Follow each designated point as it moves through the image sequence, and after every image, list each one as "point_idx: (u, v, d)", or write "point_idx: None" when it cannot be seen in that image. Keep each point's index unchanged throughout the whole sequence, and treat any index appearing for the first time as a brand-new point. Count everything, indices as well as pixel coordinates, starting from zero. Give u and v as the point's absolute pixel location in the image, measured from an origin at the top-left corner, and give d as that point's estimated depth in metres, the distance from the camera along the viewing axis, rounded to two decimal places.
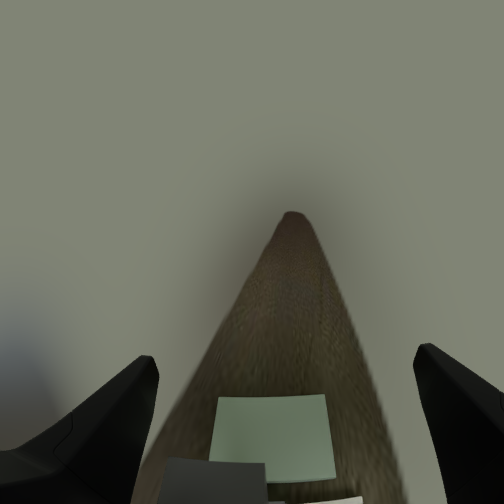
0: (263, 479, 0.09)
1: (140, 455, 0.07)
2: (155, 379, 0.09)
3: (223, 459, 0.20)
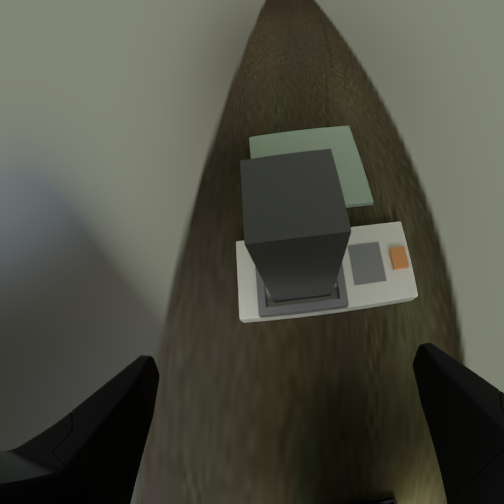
0: (334, 163, 0.12)
1: (140, 455, 0.07)
2: (155, 379, 0.09)
3: None
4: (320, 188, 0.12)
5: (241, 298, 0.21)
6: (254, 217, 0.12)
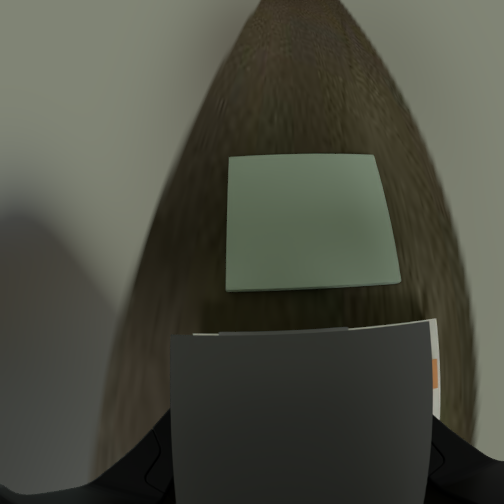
0: (430, 371, 0.04)
1: None
2: None
3: (247, 254, 0.17)
4: (384, 452, 0.03)
5: None
6: None
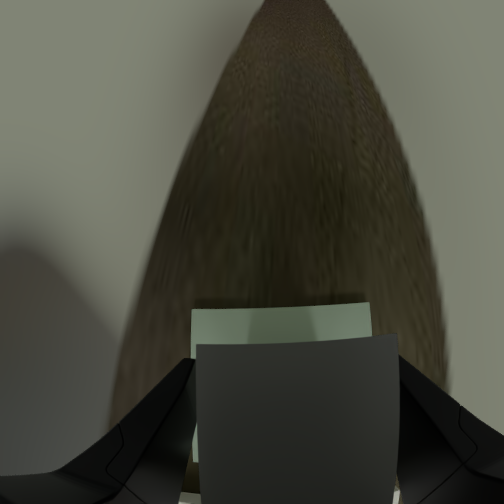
0: (397, 372, 0.05)
1: (186, 462, 0.07)
2: None
3: None
4: (360, 434, 0.05)
5: None
6: (222, 482, 0.05)
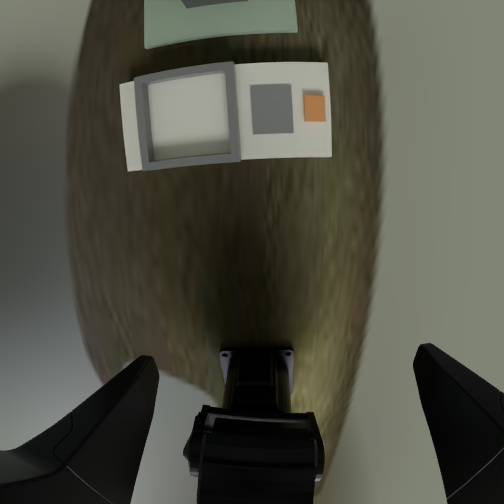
0: None
1: (140, 455, 0.07)
2: (155, 379, 0.09)
3: (160, 19, 0.14)
4: None
5: (127, 148, 0.17)
6: None
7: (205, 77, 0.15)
